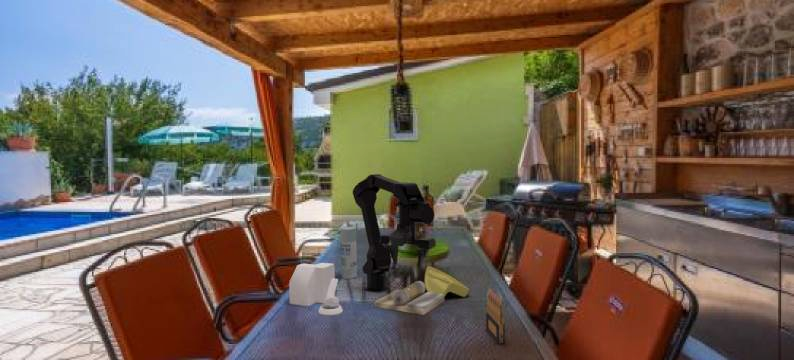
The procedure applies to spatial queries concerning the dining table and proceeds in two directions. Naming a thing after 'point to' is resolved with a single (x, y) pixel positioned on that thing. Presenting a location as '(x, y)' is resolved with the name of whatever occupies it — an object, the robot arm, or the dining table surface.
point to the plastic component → (443, 283)
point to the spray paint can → (348, 252)
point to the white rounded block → (310, 283)
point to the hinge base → (411, 301)
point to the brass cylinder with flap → (412, 290)
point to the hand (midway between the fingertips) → (407, 266)
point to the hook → (331, 301)
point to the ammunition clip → (495, 318)
